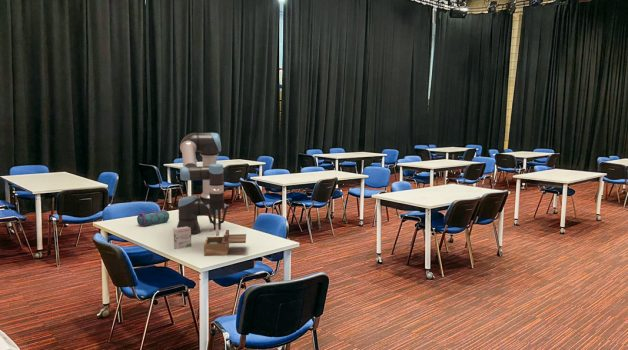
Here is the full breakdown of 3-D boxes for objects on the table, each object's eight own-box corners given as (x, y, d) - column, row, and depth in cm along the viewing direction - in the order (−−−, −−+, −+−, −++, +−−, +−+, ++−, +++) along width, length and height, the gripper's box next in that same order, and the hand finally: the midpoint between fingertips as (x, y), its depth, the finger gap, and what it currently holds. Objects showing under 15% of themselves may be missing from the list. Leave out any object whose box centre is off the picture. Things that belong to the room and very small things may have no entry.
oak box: (207, 249, 267) (207, 237, 267) (229, 248, 269) (228, 236, 268) (204, 257, 252) (203, 244, 251) (227, 256, 253) (227, 243, 252)
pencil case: (161, 221, 342) (161, 207, 341) (169, 222, 337) (169, 209, 336) (136, 226, 325) (135, 212, 324) (144, 228, 320) (144, 213, 319)
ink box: (187, 246, 274) (187, 225, 273) (191, 247, 271) (191, 227, 269) (173, 248, 269) (173, 228, 267) (177, 250, 265) (176, 229, 264)
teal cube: (209, 249, 264) (209, 242, 264) (217, 248, 265) (216, 241, 265) (210, 251, 260) (210, 244, 260) (217, 250, 262) (217, 243, 261)
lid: (223, 236, 268) (223, 229, 268) (246, 235, 269) (246, 228, 269) (221, 243, 252) (221, 236, 251) (245, 242, 253) (245, 235, 253)
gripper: (203, 194, 252) (204, 237, 255) (228, 193, 254) (229, 237, 256) (204, 191, 259) (205, 234, 262) (229, 191, 261) (229, 233, 264)
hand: (217, 235), depth 259 cm, fingers closed
